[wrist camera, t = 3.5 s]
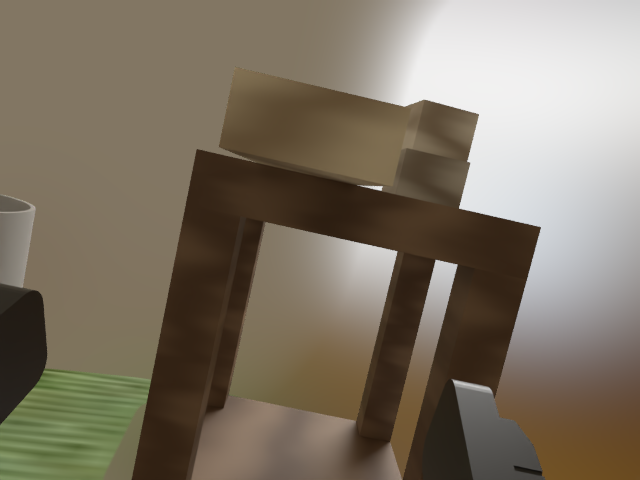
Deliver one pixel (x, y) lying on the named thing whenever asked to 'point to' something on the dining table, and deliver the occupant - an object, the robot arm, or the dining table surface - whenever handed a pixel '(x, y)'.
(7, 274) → the cylinder vase
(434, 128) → the offcut stack
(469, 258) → the walnut rack
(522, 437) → the robot arm
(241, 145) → the birch slat
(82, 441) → the dining table surface
